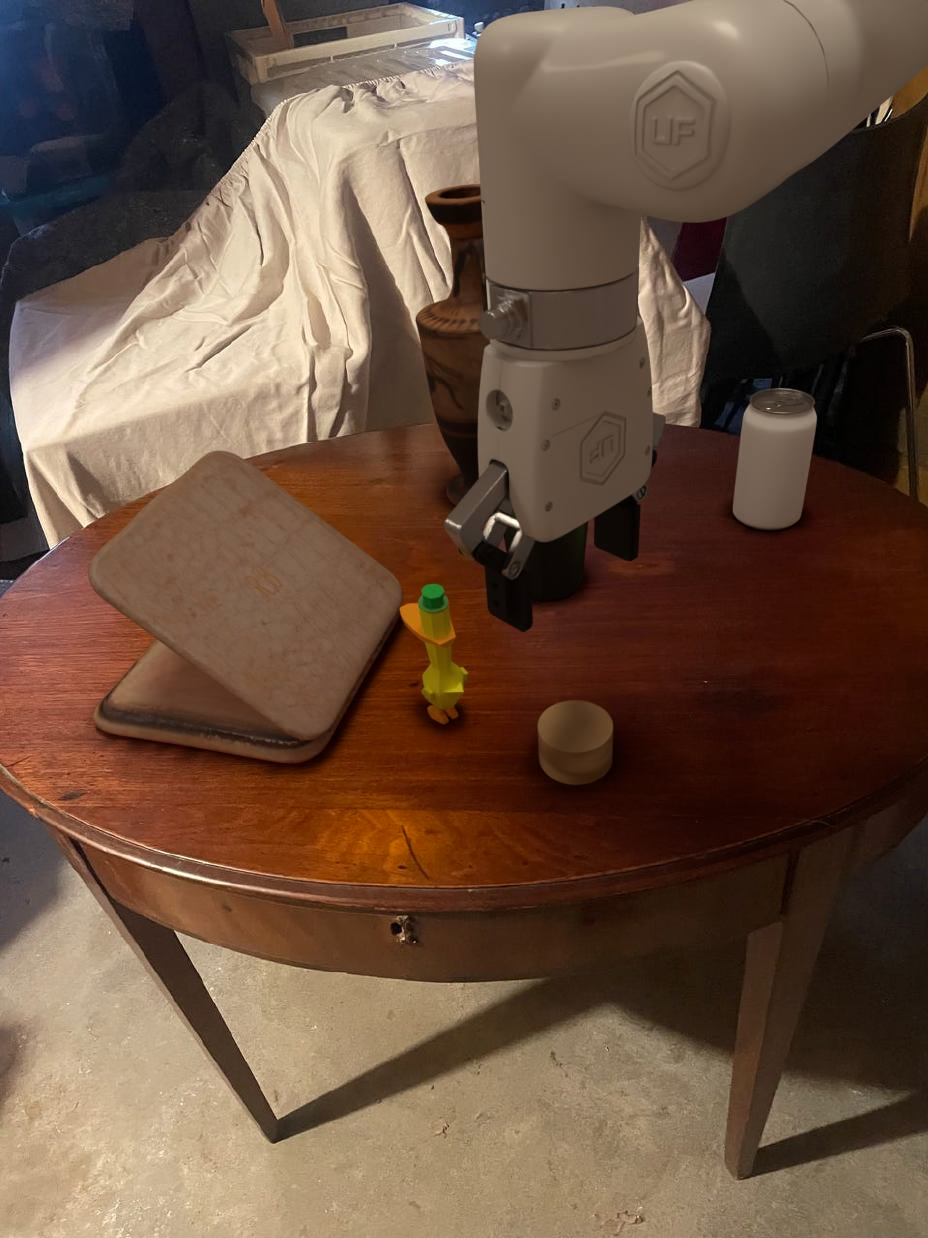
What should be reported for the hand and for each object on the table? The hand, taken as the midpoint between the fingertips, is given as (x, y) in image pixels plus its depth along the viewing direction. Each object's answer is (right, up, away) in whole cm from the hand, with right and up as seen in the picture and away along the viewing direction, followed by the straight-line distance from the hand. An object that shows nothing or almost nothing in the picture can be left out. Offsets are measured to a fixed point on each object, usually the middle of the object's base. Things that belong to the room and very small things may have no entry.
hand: (565, 585), depth 54 cm
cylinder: (+2, -12, +8) cm, 15 cm away
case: (-24, -7, +19) cm, 31 cm away
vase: (-4, +11, +41) cm, 43 cm away
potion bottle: (+1, +1, +26) cm, 26 cm away
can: (+24, +8, +32) cm, 41 cm away
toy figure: (-8, -9, +13) cm, 18 cm away
